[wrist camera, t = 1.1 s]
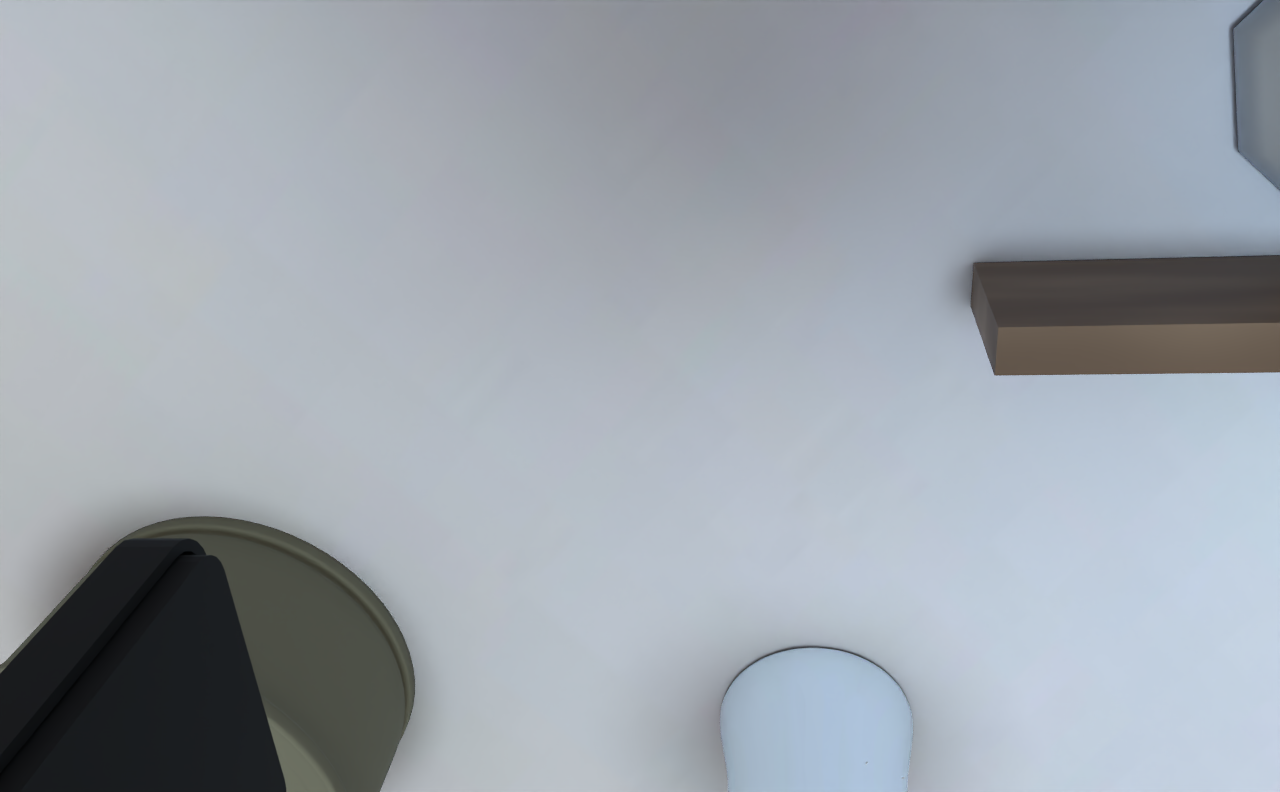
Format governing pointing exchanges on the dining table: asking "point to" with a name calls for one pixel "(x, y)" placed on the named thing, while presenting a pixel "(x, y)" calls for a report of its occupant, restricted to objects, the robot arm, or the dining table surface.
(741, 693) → the beer glass
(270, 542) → the can
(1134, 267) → the chute
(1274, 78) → the flask
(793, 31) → the dining table surface
